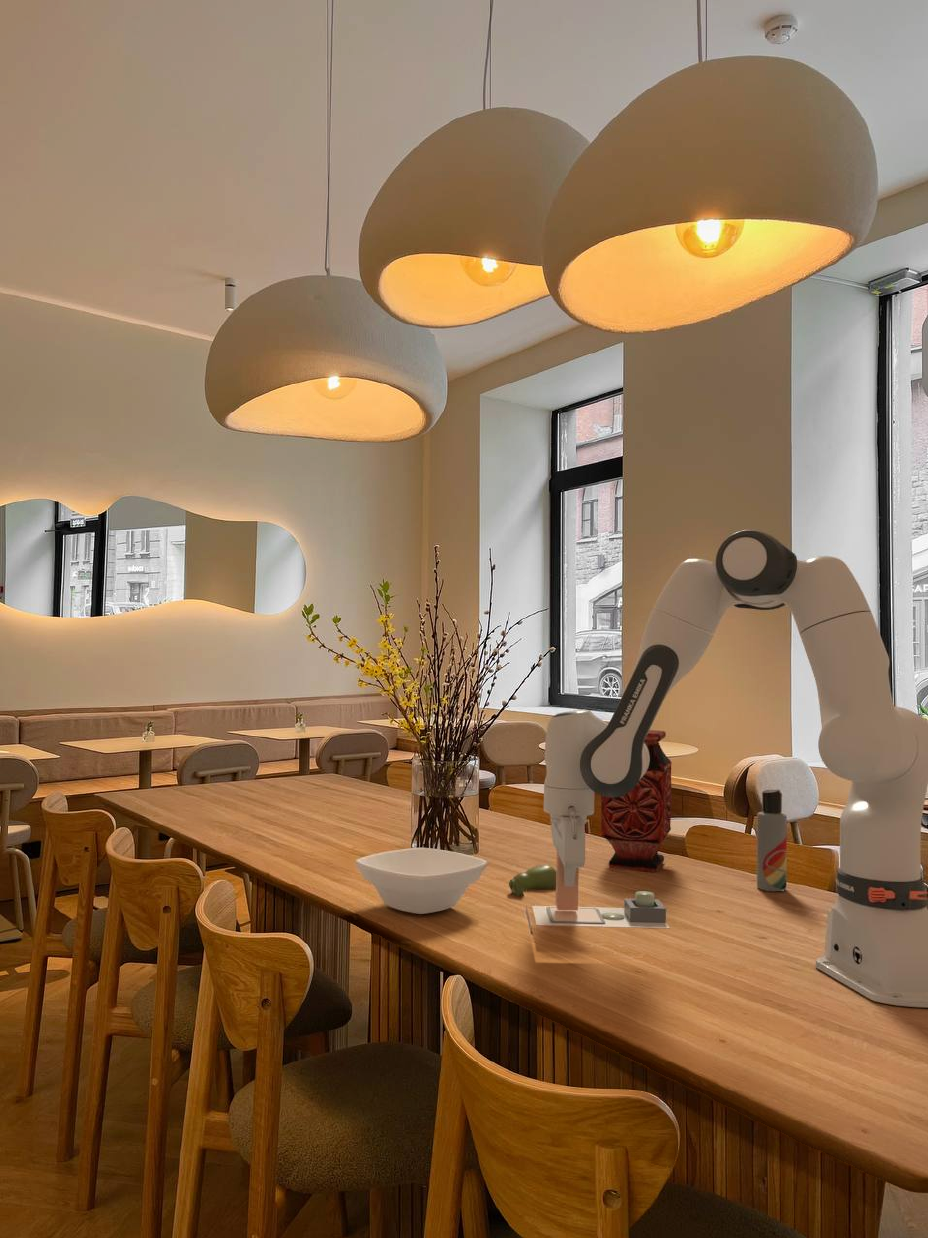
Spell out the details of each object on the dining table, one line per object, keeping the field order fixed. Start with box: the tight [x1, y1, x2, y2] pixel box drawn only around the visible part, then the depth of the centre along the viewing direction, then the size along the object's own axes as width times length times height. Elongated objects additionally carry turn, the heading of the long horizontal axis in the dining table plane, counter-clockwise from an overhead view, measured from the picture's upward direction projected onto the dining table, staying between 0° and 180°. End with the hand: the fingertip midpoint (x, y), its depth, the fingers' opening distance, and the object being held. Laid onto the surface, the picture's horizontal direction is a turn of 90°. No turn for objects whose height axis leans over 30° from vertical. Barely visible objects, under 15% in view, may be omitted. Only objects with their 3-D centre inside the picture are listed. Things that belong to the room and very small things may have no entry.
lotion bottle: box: [756, 789, 788, 892], centre depth 185 cm, size 6×6×20 cm
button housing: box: [623, 898, 667, 924], centre depth 157 cm, size 6×6×2 cm
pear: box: [508, 864, 556, 897], centre depth 178 cm, size 6×5×10 cm
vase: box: [600, 729, 672, 873], centre depth 205 cm, size 14×14×30 cm
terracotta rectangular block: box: [555, 850, 580, 910], centre depth 159 cm, size 4×4×12 cm
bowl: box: [354, 847, 489, 915], centre depth 165 cm, size 21×21×9 cm
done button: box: [634, 890, 655, 907], centre depth 157 cm, size 3×3×2 cm
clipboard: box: [525, 905, 670, 935], centre depth 157 cm, size 14×24×1 cm, turn 90°
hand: (567, 882), depth 159 cm, fingers closed on terracotta rectangular block, 3 cm apart
